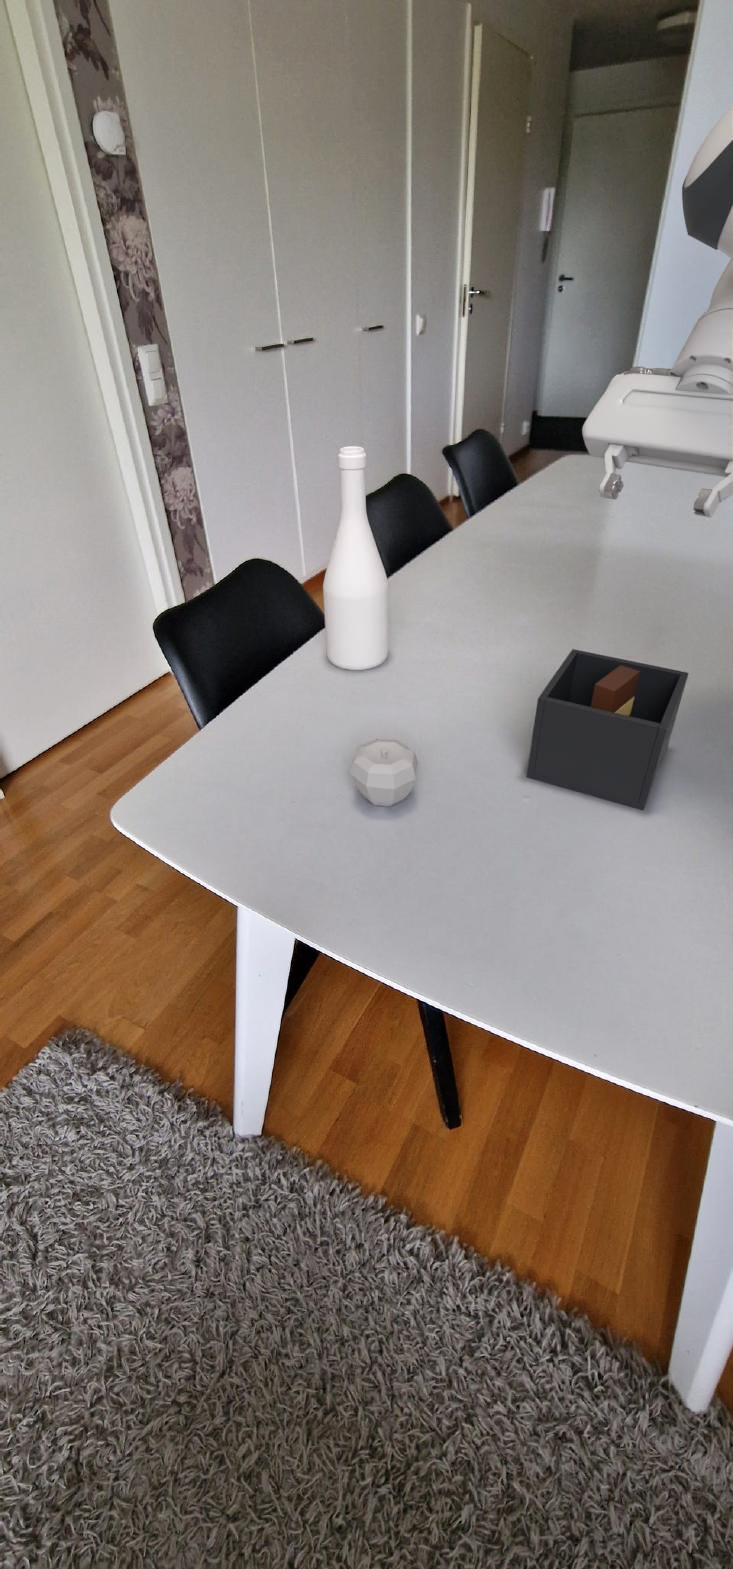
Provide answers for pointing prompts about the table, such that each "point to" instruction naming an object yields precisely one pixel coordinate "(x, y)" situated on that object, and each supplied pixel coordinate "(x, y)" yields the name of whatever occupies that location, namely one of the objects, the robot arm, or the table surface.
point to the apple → (384, 771)
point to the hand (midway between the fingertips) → (652, 503)
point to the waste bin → (604, 730)
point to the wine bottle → (355, 578)
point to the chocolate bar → (616, 691)
